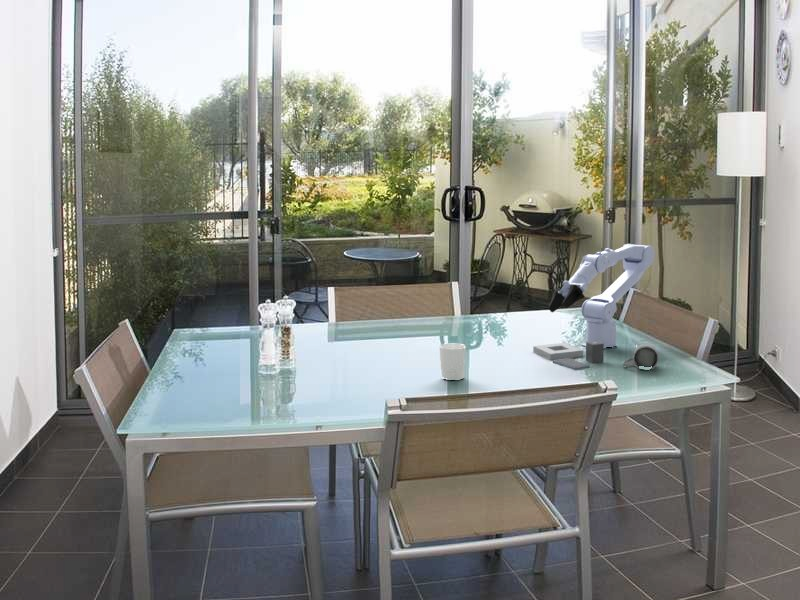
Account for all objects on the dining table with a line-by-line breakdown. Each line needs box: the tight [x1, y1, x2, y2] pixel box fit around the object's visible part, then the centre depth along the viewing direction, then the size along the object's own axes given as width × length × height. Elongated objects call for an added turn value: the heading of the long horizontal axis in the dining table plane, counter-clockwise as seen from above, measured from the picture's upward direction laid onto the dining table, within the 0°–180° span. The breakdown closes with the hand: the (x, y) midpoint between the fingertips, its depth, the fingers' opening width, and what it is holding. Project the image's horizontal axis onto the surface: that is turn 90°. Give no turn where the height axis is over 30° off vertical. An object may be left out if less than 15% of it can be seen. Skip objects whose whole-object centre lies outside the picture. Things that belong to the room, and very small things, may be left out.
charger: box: [585, 341, 605, 364], centre depth 298 cm, size 4×4×6 cm
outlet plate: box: [532, 342, 584, 361], centre depth 309 cm, size 12×12×2 cm
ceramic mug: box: [622, 342, 660, 370], centre depth 289 cm, size 11×8×8 cm
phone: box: [552, 358, 591, 371], centre depth 295 cm, size 6×11×1 cm, turn 28°
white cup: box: [439, 342, 467, 380], centre depth 282 cm, size 8×8×10 cm
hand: (557, 308), depth 301 cm, fingers open, 7 cm apart
